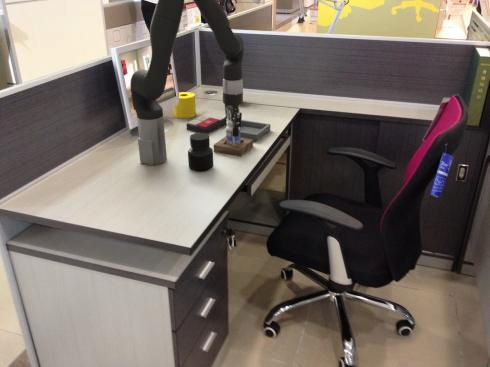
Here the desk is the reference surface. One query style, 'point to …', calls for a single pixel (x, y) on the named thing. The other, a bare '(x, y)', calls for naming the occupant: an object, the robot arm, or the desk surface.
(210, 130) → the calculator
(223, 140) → the tray
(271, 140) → the desk surface
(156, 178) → the desk surface
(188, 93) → the yellow piece
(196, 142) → the ink bottle
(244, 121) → the tray
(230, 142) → the pill bottle
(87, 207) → the desk surface
